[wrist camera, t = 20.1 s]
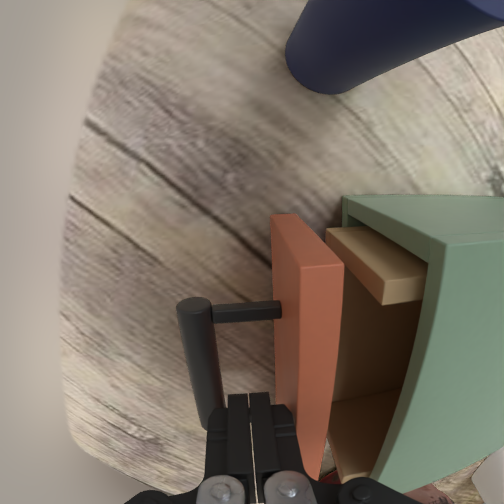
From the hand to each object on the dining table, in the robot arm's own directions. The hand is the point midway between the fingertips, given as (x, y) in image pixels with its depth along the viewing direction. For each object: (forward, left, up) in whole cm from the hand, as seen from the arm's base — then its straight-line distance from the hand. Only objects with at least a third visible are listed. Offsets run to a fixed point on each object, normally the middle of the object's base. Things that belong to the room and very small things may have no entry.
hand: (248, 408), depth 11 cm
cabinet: (0, +13, -6) cm, 14 cm away
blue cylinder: (-14, +5, -6) cm, 16 cm away
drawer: (0, +6, -6) cm, 8 cm away
